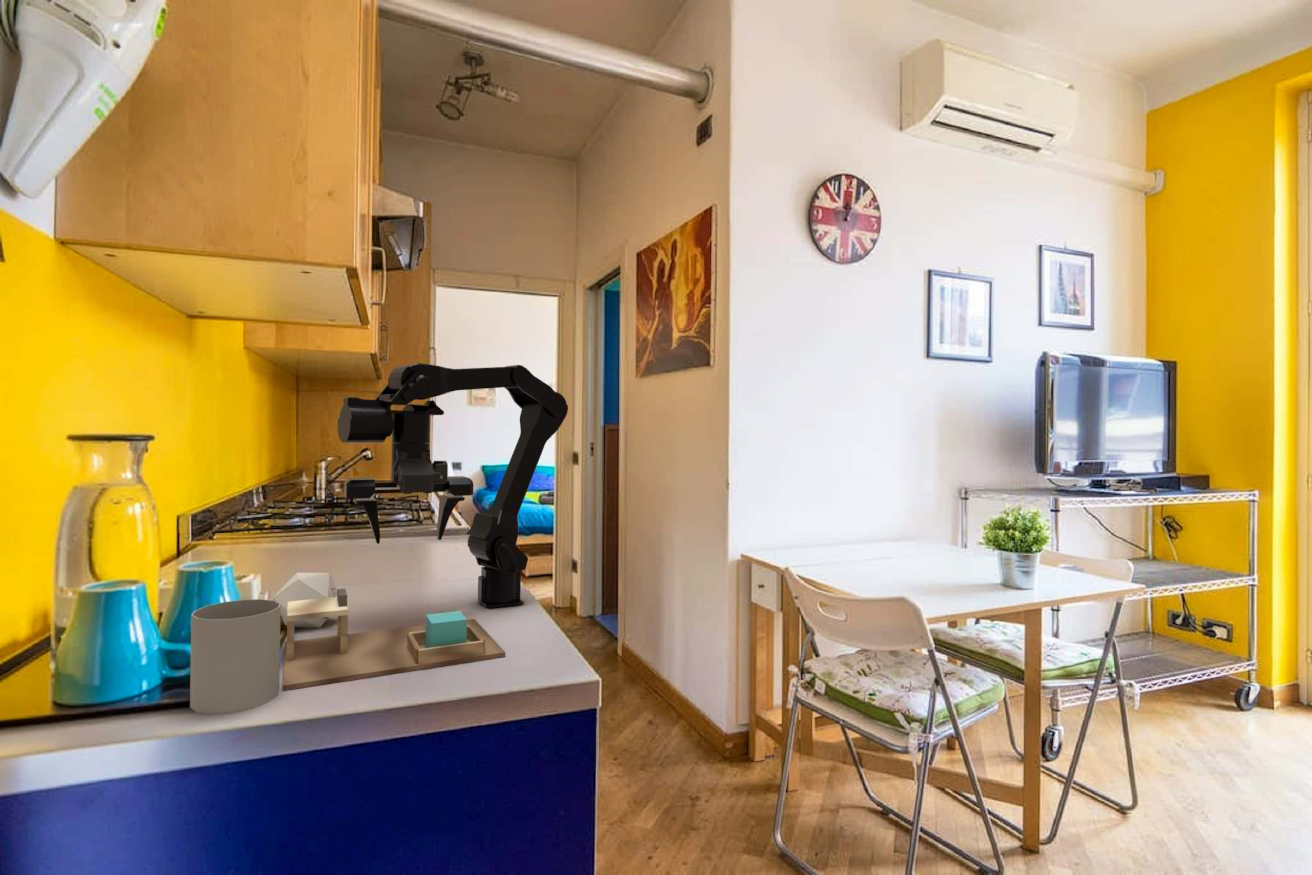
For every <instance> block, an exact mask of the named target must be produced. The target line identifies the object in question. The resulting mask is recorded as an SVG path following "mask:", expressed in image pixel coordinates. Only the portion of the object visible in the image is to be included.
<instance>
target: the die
mask: <svg viewBox="0 0 1312 875" xmlns="http://www.w3.org/2000/svg"><path fill="white" fill-rule="evenodd" d="M337 589H338V588H337V587H336V584H335V582H334V580H333V577H332V575H331V572H296V573H295V574H294V575H293V576H292V577H291V578H290V579H289V580H288V581H287V582H286V583H285V584H284V585H283V586H282V587H281V588H280V589H279V590H278V592H276V593H275V594H274V595H273V597H272V599H273V600H274V601H276V602H279V603H281V607H280V618H282V621H283V623H284V626H285V625H287V611H288V602H289V601H299V600H310V599H320V598H330V597H337ZM328 619H329V617H322V618H313V619H304V620H295V621H294V628H321V627H322V626H323V624H324V623H325V622H326V621H327V620H328Z"/></svg>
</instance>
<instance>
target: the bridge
mask: <svg viewBox="0 0 1312 875" xmlns="http://www.w3.org/2000/svg"><path fill="white" fill-rule="evenodd" d="M336 589H337V597H330V598H320V599H310V600H299V601H289V602H288V611H287V627H286V642H287V660H294V641H295V627H294V621H295V620H304V619H313V618H322V617H328V618H330V617H337V621H336V622H337V623H336V624H337V625H336V626H337V631H336V632H337V633H336V634H337V635H336V636H337V638H340V652H341V653H346V652H347V644H348V634H349V630H348V629H349V628H348V627H349V608H348V594H347V590H346V588H336Z"/></svg>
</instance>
